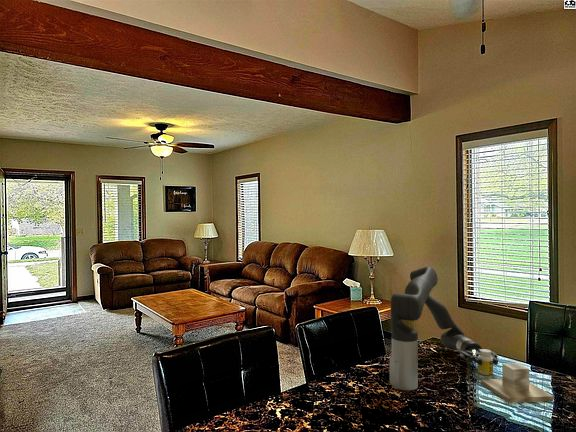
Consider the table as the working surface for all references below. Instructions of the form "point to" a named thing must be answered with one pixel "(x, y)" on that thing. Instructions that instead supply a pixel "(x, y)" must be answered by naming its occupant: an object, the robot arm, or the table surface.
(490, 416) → the table surface
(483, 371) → the supplement bottle
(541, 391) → the pedestal
